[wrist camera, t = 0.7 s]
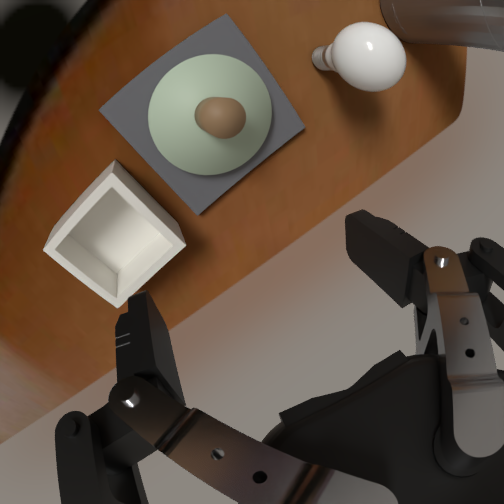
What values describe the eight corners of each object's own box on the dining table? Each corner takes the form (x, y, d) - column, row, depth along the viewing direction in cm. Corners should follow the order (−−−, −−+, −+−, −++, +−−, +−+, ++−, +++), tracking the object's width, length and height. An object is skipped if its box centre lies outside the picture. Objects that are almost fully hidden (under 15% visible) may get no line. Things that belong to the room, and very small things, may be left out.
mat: (224, 15, 22) (226, 13, 21) (301, 126, 30) (305, 127, 30) (99, 109, 23) (98, 109, 22) (195, 212, 31) (197, 215, 30)
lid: (222, 33, 22) (241, 22, 18) (287, 123, 29) (314, 131, 25) (122, 109, 23) (119, 112, 19) (199, 194, 29) (213, 214, 25)
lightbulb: (349, 81, 29) (425, 90, 20) (300, 92, 28) (373, 101, 20) (336, 28, 26) (413, 19, 17) (285, 35, 25) (356, 19, 16)
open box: (115, 159, 25) (112, 172, 21) (177, 222, 31) (186, 245, 27) (54, 226, 26) (42, 250, 22) (117, 279, 31) (117, 308, 27)
